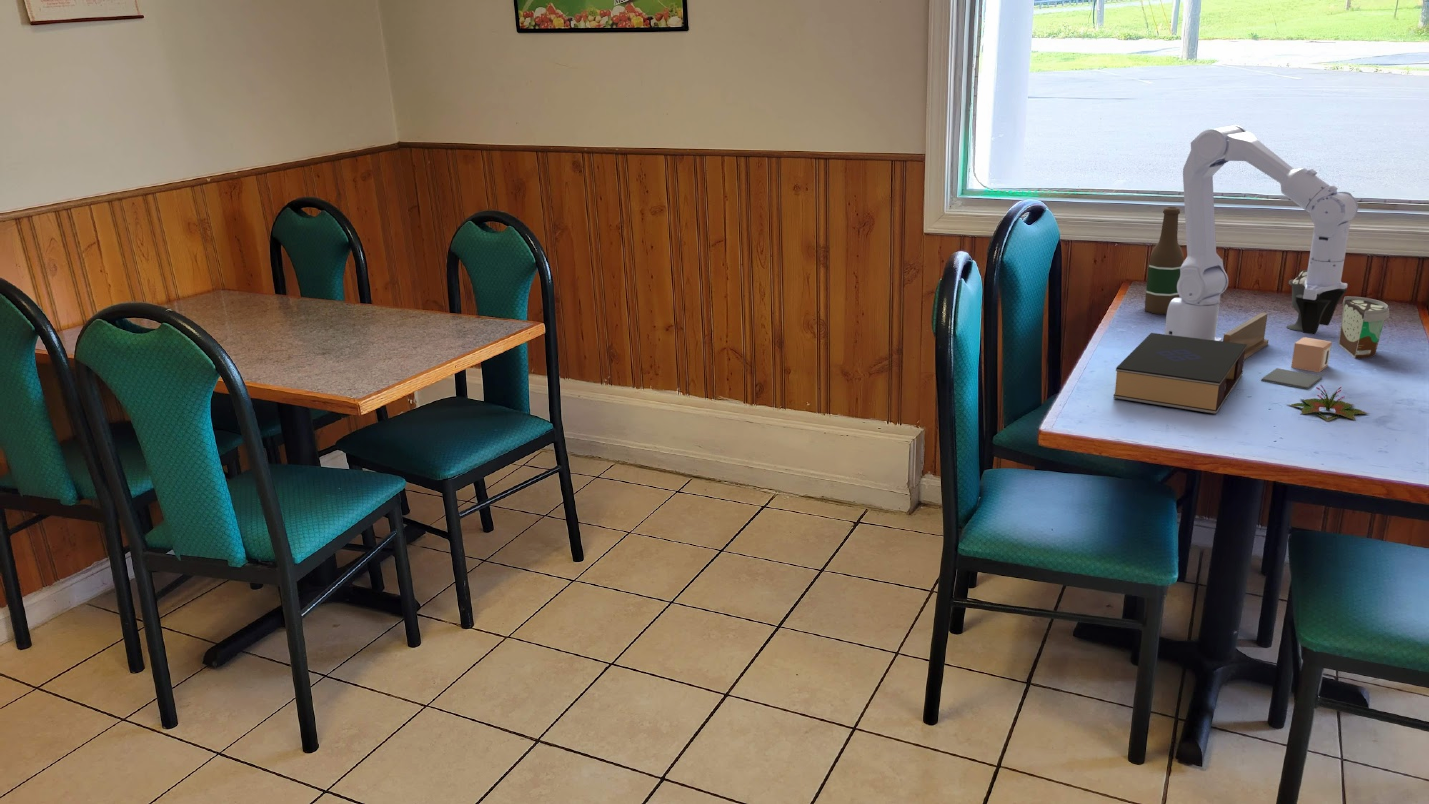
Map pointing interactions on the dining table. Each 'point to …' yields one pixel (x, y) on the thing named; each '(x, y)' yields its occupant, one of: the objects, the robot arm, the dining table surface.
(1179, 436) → the dining table surface
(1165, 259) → the beer bottle
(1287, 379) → the charcoal pad
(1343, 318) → the food container
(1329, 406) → the lily flower
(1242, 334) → the walnut screen
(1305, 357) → the letter cube
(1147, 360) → the book
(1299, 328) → the sundae
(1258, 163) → the robot arm
